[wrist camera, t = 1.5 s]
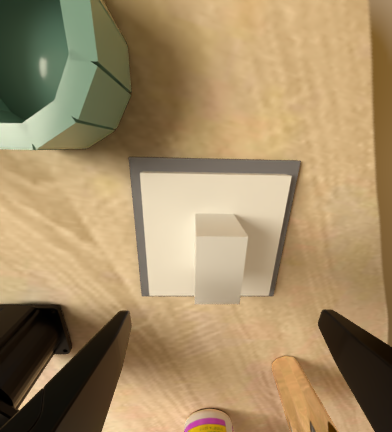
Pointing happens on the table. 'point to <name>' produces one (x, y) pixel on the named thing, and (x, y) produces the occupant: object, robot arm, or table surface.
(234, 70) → the table surface
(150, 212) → the lid
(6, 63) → the bowl
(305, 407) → the milkshake
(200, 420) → the supplement bottle
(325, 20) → the table surface
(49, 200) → the table surface
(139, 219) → the mat
